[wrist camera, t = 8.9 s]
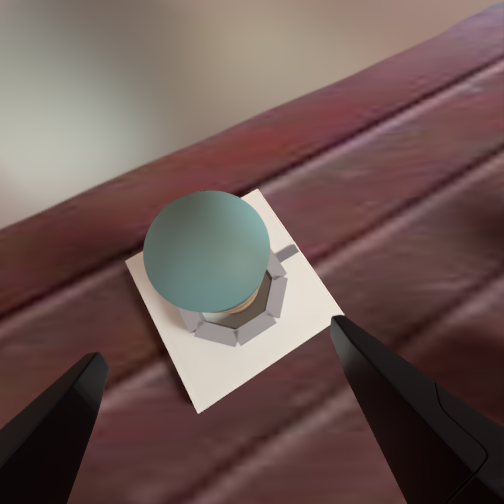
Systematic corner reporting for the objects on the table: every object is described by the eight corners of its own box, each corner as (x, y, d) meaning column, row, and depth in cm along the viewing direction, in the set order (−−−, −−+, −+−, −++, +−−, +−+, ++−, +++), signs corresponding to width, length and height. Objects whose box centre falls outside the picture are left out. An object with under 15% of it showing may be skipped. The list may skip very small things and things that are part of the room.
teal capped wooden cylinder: (232, 325, 19) (205, 342, 7) (196, 288, 20) (116, 249, 8) (267, 286, 20) (296, 244, 8) (231, 253, 21) (208, 169, 9)
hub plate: (201, 407, 19) (192, 424, 16) (131, 263, 22) (113, 256, 19) (339, 314, 21) (353, 314, 18) (257, 194, 24) (258, 178, 21)
